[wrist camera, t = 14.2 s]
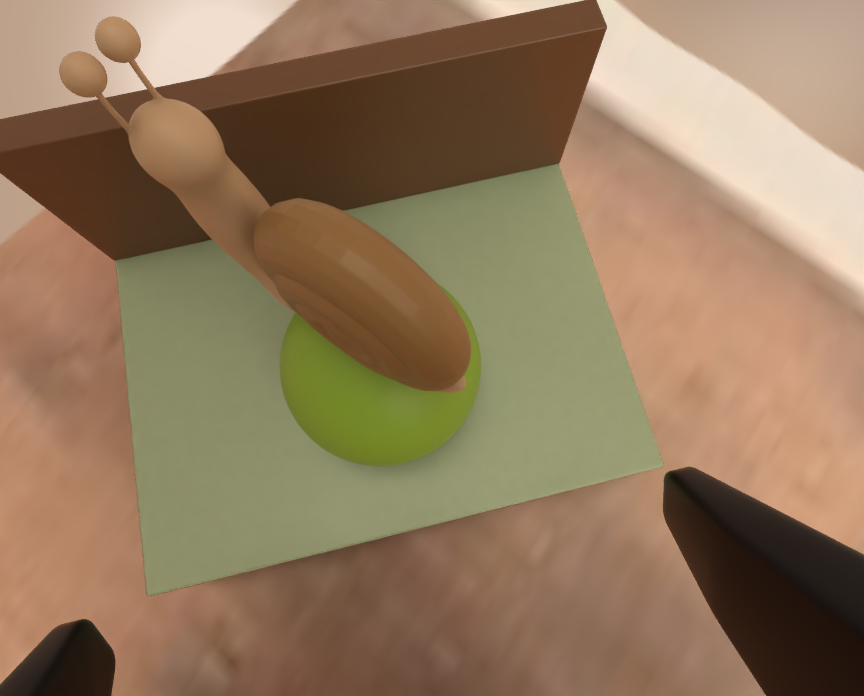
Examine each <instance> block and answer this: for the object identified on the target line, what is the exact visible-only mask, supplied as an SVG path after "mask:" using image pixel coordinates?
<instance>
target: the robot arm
mask: <svg viewBox="0 0 864 696" xmlns="http://www.w3.org/2000/svg"><path fill="white" fill-rule="evenodd" d="M663 513H664V517H665V520H666V523H667V525H668V527H669V529H670V531H671V533H672V535H673V537H674V539H675V541H676V543H677V545H678V547H679V549H680V551H681V553H682V554H683V556H684V558H685V560H686V562H687V564H688V566H689V568H690V570H691V572H692V574H693V576H694V578H695V580H696V582H697V584H698V586H699V587H700V589H701V591H702V593H703V595H704V597H705V599H706V601H707V603H708V605H709V606H710V608H711V610H712V612H713V614H714V616H715V617H716V619H717V620H718V622H719V624H720V625H721V627H722V628H723V630H724V632H725V633H726V635H727V636H728V638H729V639H730V641H731V642H732V644H733V645H734V647H735V648H736V650H737V652H738V653H739V655H740V656H741V658H742V659H743V661H744V662H745V664H746V665H747V667H748V668H749V670H750V671H751V673H752V675H753V676H754V678H755V679H756V681H757V682H758V684H759V685H760V687H761V688H762V690H763V691H764V693H765V694H766V696H864V555H863V554H862V553H860V552H858V551H856V550H854V549H852V548H850V547H848V546H846V545H844V544H842V543H840V542H838V541H836V540H834V539H832V538H830V537H828V536H827V535H825V534H823V533H821V532H819V531H817V530H815V529H813V528H811V527H809V526H807V525H805V524H803V523H801V522H799V521H797V520H795V519H793V518H791V517H790V516H788V515H786V514H784V513H782V512H780V511H778V510H776V509H774V508H772V507H770V506H768V505H766V504H764V503H762V502H760V501H758V500H756V499H754V498H753V497H751V496H749V495H747V494H745V493H743V492H741V491H739V490H737V489H735V488H733V487H731V486H729V485H727V484H725V483H723V482H721V481H719V480H717V479H716V478H714V477H712V476H710V475H708V474H706V473H704V472H702V471H700V470H698V469H696V468H693V467H685V468H681V469H677V470H673V471H669V472H668V473H666V475H665V477H664V493H663ZM114 673H115V655H114V652H113V650H112V648H111V647H110V645H109V644H108V643H107V641H106V640H105V639H104V637H103V636H102V635H101V633H100V632H99V631H98V629H97V628H96V627H95V625H94V624H93V623H92V622H91V621H89V620H87V619H81V620H77V621H73V622H69V623H66V624H62V625H59V626H57V627H56V628H54V629H53V630H52V631H51V632H50V633H49V634H48V635H47V636H46V637H45V638H44V639H43V640H42V641H41V642H40V644H39V645H38V646H37V647H36V648H35V649H34V650H33V651H32V652H31V653H30V654H29V655H28V656H27V657H26V658H25V659H24V660H23V661H22V662H21V663H20V664H19V666H18V667H17V668H16V669H15V670H14V671H13V672H12V673H11V674H10V675H9V676H8V677H7V678H6V679H5V680H4V681H3V682H2V683H1V684H0V696H111V693H112V687H113V680H114Z"/></svg>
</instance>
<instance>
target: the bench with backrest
mask: <svg viewBox="0 0 864 696" xmlns="http://www.w3.org/2000/svg"><path fill="white" fill-rule="evenodd" d="M606 29H607V25H606V23H605V20H604V18H603V15H602V13H601V10H600V8H599V6H598V3H597V1H596V0H584V1H579V2H574V3H570V4H565V5H560V6H555V7H550V8H545V9H540V10H535V11H530V12H525V13H520V14H515V15H511V16H506V17H501V18H496V19H491V20H486V21H481V22H476V23H471V24H466V25H461V26H456V27H452V28H447V29H442V30H437V31H432V32H427V33H422V34H417V35H412V36H407V37H402V38H397V39H392V40H388V41H383V42H378V43H373V44H368V45H363V46H358V47H353V48H348V49H343V50H338V51H333V52H329V53H324V54H319V55H314V56H309V57H304V58H299V59H294V60H289V61H284V62H279V63H274V64H270V65H265V66H260V67H255V68H250V69H245V70H240V71H235V72H230V73H225V74H220V75H215V76H211V77H206V78H201V79H196V80H191V81H186V82H181V83H176V84H171V85H167V86H162V87H157V88H155V89H156V91H157V92H158V93H159V94H160V95H161V96H162V97H164V98H166V99H174V100H178V101H182V102H184V103H187V104H189V105H191V106H193V107H195V108H196V109H198V110H199V111H200V112H202V113H203V114H204V115H205V116H206V117H207V118H208V119H209V120H210V121H211V122H212V124H213V125H214V126H215V128H216V129H217V131H218V133H219V135H220V137H221V139H222V142H223V145H224V149H225V153H226V155H227V156H228V157H229V159H230V160H231V161H232V162H233V163H234V164H235V165H236V166H237V168H238V169H239V170H240V171H241V172H242V173H243V174H244V175H245V176H246V177H247V178H248V180H249V181H250V182H251V183H252V184H253V185H254V186H255V188H256V189H257V190H258V191H259V192H260V194H261V195H262V196H263V198H264V199H265V200H266V201H267V203H268V204H269V206H270V207H271V206H273V205H274V204H276V203H279V202H283V201H287V200H291V199H295V198H302V199H307V200H313V201H318V202H322V203H325V204H328V205H330V206H333V207H336V208H338V209H340V210H342V211H344V212H346V213H348V214H350V215H351V216H353V217H355V218H357V219H359V220H360V221H362V222H363V223H365V224H366V225H368V226H370V227H371V228H373V229H374V230H376V231H377V232H379V233H380V234H381V235H383V236H384V237H385V238H387V239H388V240H389V241H391V242H392V243H393V244H395V245H396V246H397V247H399V248H400V249H401V250H402V251H403V252H404V253H406V254H407V255H408V256H409V257H410V258H411V259H413V260H414V261H415V262H416V263H417V264H418V265H419V266H420V267H421V268H422V269H423V270H424V271H425V272H426V273H427V274H428V275H429V276H430V277H431V278H432V279H433V280H434V281H435V282H436V283H438V284H439V285H441V286H442V287H443V288H445V289H446V290H447V291H448V292H449V293H450V294H451V295H452V296H453V297H454V298H455V299H456V300H457V301H458V302H459V304H460V305H461V306H462V308H463V309H464V311H465V312H466V314H467V315H468V317H469V319H470V321H471V323H472V325H473V328H474V330H475V333H476V336H477V339H478V343H479V348H480V356H481V376H480V383H479V388H478V392H477V395H476V398H475V401H474V404H473V406H472V408H471V410H470V412H469V414H468V416H467V418H466V419H465V421H464V422H463V424H462V425H461V426H460V428H459V429H458V430H457V431H456V432H455V434H454V435H453V436H452V437H451V438H450V439H449V440H447V441H446V442H445V443H444V444H443V445H441V446H440V447H439V448H437V449H436V450H434V451H433V452H431V453H429V454H427V455H425V456H423V457H421V458H419V459H416V460H414V461H411V462H407V463H403V464H399V465H392V466H368V465H362V464H357V463H353V462H350V461H347V460H344V459H341V458H339V457H337V456H335V455H333V454H331V453H329V452H328V451H326V450H325V449H323V448H322V447H320V446H319V445H318V444H316V443H315V442H314V441H313V440H312V439H311V438H310V437H309V436H308V435H307V434H306V433H305V432H304V431H303V430H302V428H301V427H300V426H299V424H298V423H297V422H296V420H295V418H294V417H293V415H292V413H291V411H290V409H289V407H288V405H287V402H286V400H285V397H284V394H283V390H282V385H281V379H280V353H281V347H282V343H283V339H284V336H285V333H286V330H287V327H288V325H289V323H290V321H291V319H292V317H293V315H294V314H295V312H293V311H292V310H290V309H289V308H287V307H286V306H285V305H283V304H282V303H281V302H280V301H278V300H277V299H276V298H275V297H274V296H273V295H272V294H271V293H270V292H269V291H268V290H267V289H266V288H265V287H264V286H263V285H262V284H261V283H260V282H259V281H258V280H257V279H256V278H255V277H253V276H252V275H251V274H250V273H249V272H248V271H247V270H245V269H244V268H243V267H242V266H241V265H240V264H239V263H238V262H236V261H235V260H234V259H233V258H232V257H231V256H229V255H228V254H227V253H226V252H225V251H224V250H223V249H221V248H220V247H219V246H218V245H217V244H216V243H215V242H214V241H213V240H212V239H211V238H210V237H209V236H208V235H207V233H206V232H205V231H204V230H203V229H202V228H201V227H200V226H199V224H198V223H197V222H196V221H195V220H194V218H193V217H192V216H191V214H190V213H189V212H188V210H187V209H186V207H185V206H184V205H183V203H182V202H181V200H180V199H179V198H178V197H177V195H176V194H175V193H174V192H173V191H172V190H170V189H169V188H167V187H166V186H164V185H163V184H161V183H160V182H158V181H157V180H155V179H154V178H153V177H152V176H150V175H149V174H148V173H147V172H146V171H145V170H144V169H143V168H142V166H141V165H140V164H139V162H138V161H137V159H136V158H135V156H134V154H133V152H132V149H131V146H130V142H129V135H128V133H127V132H126V130H125V129H124V128H123V127H122V126H121V125H120V123H119V122H118V121H117V120H116V119H115V118H114V117H113V115H112V114H111V113H110V112H109V111H108V110H107V109H106V107H105V106H104V105H103V104H102V103H101V102H100V101H99V100H98V99H97V100H93V101H88V102H83V103H78V104H73V105H68V106H63V107H58V108H53V109H49V110H43V111H38V112H34V113H29V114H24V115H19V116H14V117H9V118H4V119H0V173H1V174H2V175H3V176H5V177H6V178H7V179H9V180H10V181H11V182H13V183H14V184H15V185H16V186H18V187H19V188H20V189H22V190H23V191H24V192H25V193H27V194H28V195H29V196H31V197H32V198H33V199H35V200H36V201H37V202H39V203H40V204H41V205H42V206H44V207H45V208H46V209H48V210H49V211H50V212H52V213H53V214H54V215H55V216H57V217H58V218H59V219H61V220H62V221H63V222H65V223H66V224H67V225H68V226H70V227H71V228H72V229H74V230H75V231H76V232H78V233H79V234H80V235H82V236H83V237H84V238H85V239H87V240H88V241H89V242H91V243H92V244H93V245H95V246H96V247H97V248H98V249H100V250H101V251H102V252H104V253H105V254H106V255H108V256H109V257H110V258H112V259H113V260H115V261H116V271H117V282H118V293H119V304H120V314H121V325H122V336H123V347H124V358H125V368H126V379H127V390H128V401H129V412H130V422H131V433H132V444H133V455H134V465H135V476H136V487H137V498H138V509H139V519H140V530H141V541H142V552H143V563H144V573H145V584H146V594H147V596H154V595H158V594H162V593H166V592H170V591H174V590H178V589H182V588H186V587H190V586H194V585H198V584H202V583H206V582H210V581H214V580H218V579H222V578H226V577H230V576H234V575H238V574H242V573H245V572H249V571H253V570H257V569H261V568H265V567H269V566H273V565H277V564H281V563H285V562H289V561H293V560H297V559H301V558H305V557H309V556H313V555H317V554H321V553H325V552H329V551H333V550H337V549H341V548H345V547H349V546H353V545H357V544H361V543H365V542H368V541H372V540H376V539H380V538H384V537H388V536H392V535H396V534H400V533H404V532H408V531H412V530H416V529H420V528H424V527H428V526H432V525H436V524H440V523H444V522H448V521H452V520H456V519H460V518H464V517H468V516H472V515H476V514H480V513H484V512H488V511H491V510H495V509H499V508H503V507H507V506H511V505H515V504H519V503H523V502H527V501H531V500H535V499H539V498H543V497H547V496H551V495H555V494H559V493H563V492H567V491H571V490H575V489H579V488H583V487H587V486H591V485H595V484H599V483H603V482H607V481H610V480H614V479H618V478H622V477H626V476H630V475H634V474H638V473H642V472H646V471H650V470H654V469H658V468H662V467H663V461H662V458H661V455H660V453H659V450H658V447H657V444H656V441H655V438H654V435H653V433H652V430H651V427H650V424H649V421H648V418H647V415H646V412H645V410H644V407H643V404H642V401H641V398H640V395H639V392H638V389H637V387H636V384H635V381H634V378H633V375H632V372H631V369H630V367H629V364H628V361H627V358H626V355H625V352H624V349H623V346H622V344H621V341H620V338H619V335H618V332H617V329H616V326H615V323H614V321H613V318H612V315H611V312H610V309H609V306H608V303H607V301H606V298H605V295H604V292H603V289H602V286H601V283H600V280H599V278H598V275H597V272H596V269H595V266H594V263H593V260H592V257H591V255H590V252H589V249H588V246H587V243H586V240H585V237H584V235H583V232H582V229H581V226H580V223H579V220H578V217H577V214H576V212H575V209H574V206H573V203H572V200H571V197H570V194H569V191H568V189H567V186H566V183H565V180H564V177H563V174H562V171H561V169H560V166H559V163H560V160H561V158H562V155H563V152H564V149H565V146H566V143H567V140H568V138H569V135H570V132H571V129H572V126H573V123H574V120H575V118H576V115H577V112H578V109H579V106H580V103H581V100H582V98H583V95H584V92H585V89H586V86H587V83H588V80H589V78H590V75H591V72H592V69H593V66H594V63H595V60H596V58H597V55H598V52H599V49H600V46H601V43H602V40H603V38H604V35H605V32H606ZM105 99H106V100H107V101H108V102H109V103H110V105H111V106H112V107H113V108H114V109H115V110H116V111H117V112H118V113H119V114H120V115H121V116H122V117H123V118H124V119H125V120H126V122H127V123H130V119H131V117H132V115H133V113H134V112H135V110H136V109H137V108H138V107H139V106H141V105H142V104H144V103H146V102H148V101H151V100H153V96H152V94H151V93H150V92H149V91H148V89H147V90H142V91H137V92H132V93H127V94H122V95H117V96H113V97H107V98H105Z"/></svg>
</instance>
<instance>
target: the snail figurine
mask: <svg viewBox="0 0 864 696" xmlns="http://www.w3.org/2000/svg"><path fill="white" fill-rule="evenodd" d="M95 41H96V43H97V46H98V48H99V50H100V51H101V52H102V53H103V54H104V55H105V56H106V57H107V58H109V59H111V60H113V61H115V62H120V63H126V62H129V63H130V65H131V66H132V68H133V69H134V71H135V72H136V74H137V75H138V76H139V78H140V79H141V80H142V82H143V83H144V85H145V86H146V88H147V89H148V91H149V92H150V93H151V94H152V96H153V100H151V101H148V102H146V103H144V104H142V105H141V106H139V107H138V108H137V109H136V110H135V112H134V113H133V115H132V117H131V119H130V123H127V122H126V120H125V119H124V118H123V117H122V116H121V115H120V114H119V113H118V112H117V111H116V110H115V109H114V108H113V107H112V106H111V105H110V103H109V102H108V101H107V100H106V99H105V97H104V96H103V95H102V92H103V91H104V89H105V88H106V85H107V74H106V71H105V69H104V67H103V65H102V64H101V63H100V62H99V61H98V60H97V59H96V58H95V57H93V56H92V55H90V54H88V53H85V52H73V53H69V54H68V55H66V56H65V57H64V58H63V60H62V61H61V64H60V68H59V72H60V77H61V80H62V82H63V84H64V85H65V86H66V87H67V88H68V89H69V90H70V91H71V92H73V93H75V94H76V95H79V96H82V97H95V96H96V97H97V98H98V100H99V101H100V102H101V103H102V104H103V105H104V106H105V107H106V109H107V110H108V111H109V112H110V113H111V114H112V115H113V117H114V118H115V119H116V120H117V121H118V122H119V123H120V125H121V126H122V127H123V128H124V129H125V130H126V132H127V133H128V135H129V142H130V146H131V149H132V152H133V154H134V156H135V158H136V159H137V161H138V162H139V164H140V165H141V166H142V168H143V169H144V170H145V171H146V172H147V173H148V174H149V175H150V176H152V177H153V178H154V179H155V180H157V181H158V182H160V183H161V184H163V185H164V186H166V187H167V188H169V189H170V190H172V191H173V192H174V193H175V194H176V195H177V197H178V198H179V199H180V200H181V202H182V203H183V205H184V206H185V207H186V209H187V210H188V212H189V213H190V214H191V216H192V217H193V218H194V220H195V221H196V222H197V223H198V224H199V226H200V227H201V228H202V229H203V230H204V231H205V232H206V233H207V235H208V236H209V237H210V238H211V239H212V240H213V241H214V242H215V243H216V244H217V245H218V246H219V247H220V248H221V249H223V250H224V251H225V252H226V253H227V254H228V255H229V256H231V257H232V258H233V259H234V260H235V261H236V262H238V263H239V264H240V265H241V266H242V267H243V268H244V269H245V270H247V271H248V272H249V273H250V274H251V275H252V276H253V277H255V278H256V279H257V280H258V281H259V282H260V283H261V284H262V285H263V286H264V287H265V288H266V289H267V290H268V291H269V292H270V293H271V294H272V295H273V296H274V297H275V298H276V299H277V300H278V301H280V302H281V303H282V304H283V305H285V306H286V307H287V308H289V309H290V310H292V311H293V312H295V314H294V315H293V317H292V319H291V321H290V323H289V325H288V327H287V330H286V333H285V336H284V339H283V343H282V347H281V353H280V379H281V385H282V390H283V394H284V397H285V400H286V402H287V405H288V407H289V409H290V411H291V413H292V415H293V417H294V418H295V420H296V422H297V423H298V424H299V426H300V427H301V428H302V430H303V431H304V432H305V433H306V434H307V435H308V436H309V437H310V438H311V439H312V440H313V441H314V442H315V443H316V444H318V445H319V446H320V447H322V448H323V449H325V450H326V451H328V452H329V453H331V454H333V455H335V456H337V457H339V458H341V459H344V460H347V461H350V462H353V463H357V464H362V465H368V466H392V465H399V464H403V463H407V462H411V461H414V460H416V459H419V458H421V457H423V456H425V455H427V454H429V453H431V452H433V451H434V450H436V449H437V448H439V447H440V446H441V445H443V444H444V443H445V442H446V441H447V440H449V439H450V438H451V437H452V436H453V435H454V434H455V432H456V431H457V430H458V429H459V428H460V426H461V425H462V424H463V422H464V421H465V419H466V418H467V416H468V414H469V412H470V410H471V408H472V406H473V404H474V401H475V398H476V395H477V392H478V388H479V383H480V376H481V356H480V348H479V343H478V339H477V336H476V333H475V330H474V328H473V325H472V323H471V321H470V319H469V317H468V315H467V314H466V312H465V311H464V309H463V308H462V306H461V305H460V304H459V302H458V301H457V300H456V299H455V298H454V297H453V296H452V295H451V294H450V293H449V292H448V291H447V290H446V289H445V288H443V287H442V286H441V285H439V284H438V283H436V282H435V281H434V280H433V279H432V278H431V277H430V276H429V275H428V274H427V273H426V272H425V271H424V270H423V269H422V268H421V267H420V266H419V265H418V264H417V263H416V262H415V261H414V260H413V259H411V258H410V257H409V256H408V255H407V254H406V253H404V252H403V251H402V250H401V249H400V248H399V247H397V246H396V245H395V244H393V243H392V242H391V241H389V240H388V239H387V238H385V237H384V236H383V235H381V234H380V233H379V232H377V231H376V230H374V229H373V228H371V227H370V226H368V225H366V224H365V223H363V222H362V221H360V220H359V219H357V218H355V217H353V216H351V215H350V214H348V213H346V212H344V211H342V210H340V209H338V208H336V207H333V206H330V205H328V204H325V203H322V202H318V201H313V200H307V199H302V198H295V199H291V200H287V201H283V202H279V203H276V204H274V205H273V206H271V207H270V206H269V204H268V203H267V201H266V200H265V199H264V198H263V196H262V195H261V194H260V192H259V191H258V190H257V189H256V188H255V186H254V185H253V184H252V183H251V182H250V181H249V180H248V178H247V177H246V176H245V175H244V174H243V173H242V172H241V171H240V170H239V169H238V168H237V166H236V165H235V164H234V163H233V162H232V161H231V160H230V159H229V157H228V156H227V155H226V153H225V149H224V145H223V142H222V139H221V137H220V135H219V133H218V131H217V129H216V128H215V126H214V125H213V124H212V122H211V121H210V120H209V119H208V118H207V117H206V116H205V115H204V114H203V113H202V112H200V111H199V110H198V109H196V108H195V107H193V106H191V105H189V104H187V103H184V102H182V101H178V100H174V99H166V98H164V97H162V96H161V95H160V94H159V93H158V92H157V91H156V89H155V88H154V87H153V86H152V85H151V83H150V82H149V81H148V79H147V78H146V76H145V75H144V74H143V72H142V71H141V70H140V68H139V66H138V65H137V63H136V62H135V60H134V59H135V58H136V57H137V55H138V54H139V52H140V48H141V43H140V38H139V35H138V33H137V31H136V30H135V28H134V27H133V26H132V25H131V24H130V23H129V22H127V21H126V20H124V19H122V18H119V17H108V18H106V19H103V20H102V21H101V22H100V23H99V24H98V25H97V28H96V31H95Z"/></svg>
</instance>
